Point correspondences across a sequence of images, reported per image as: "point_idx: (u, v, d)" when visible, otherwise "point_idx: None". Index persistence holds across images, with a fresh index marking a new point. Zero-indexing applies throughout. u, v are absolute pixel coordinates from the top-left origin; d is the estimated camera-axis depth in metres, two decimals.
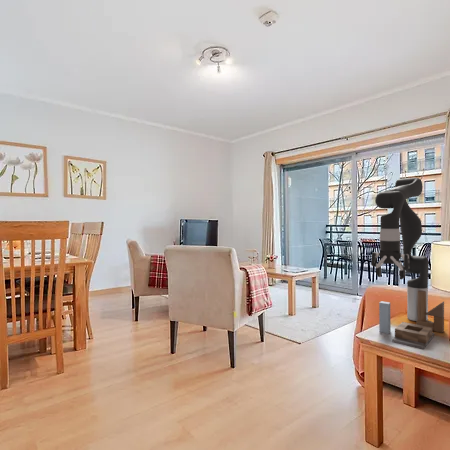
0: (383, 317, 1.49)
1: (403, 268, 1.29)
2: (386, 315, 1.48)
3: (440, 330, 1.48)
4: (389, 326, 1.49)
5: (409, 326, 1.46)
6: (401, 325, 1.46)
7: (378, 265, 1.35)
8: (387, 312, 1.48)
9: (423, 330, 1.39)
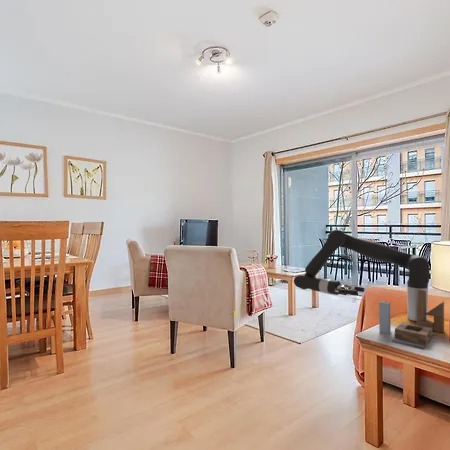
0: (383, 317, 1.49)
1: None
2: (386, 315, 1.48)
3: (440, 330, 1.48)
4: (389, 326, 1.49)
5: (409, 326, 1.46)
6: (401, 325, 1.46)
7: None
8: (387, 312, 1.48)
9: (423, 330, 1.39)
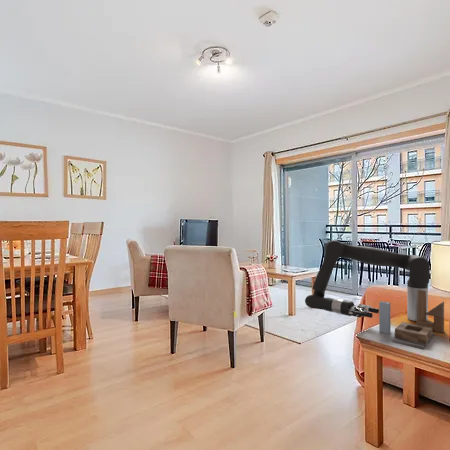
0: (383, 317, 1.49)
1: None
2: (386, 315, 1.48)
3: (440, 330, 1.48)
4: (389, 326, 1.49)
5: (409, 326, 1.46)
6: (401, 325, 1.46)
7: None
8: (387, 312, 1.48)
9: (423, 330, 1.39)
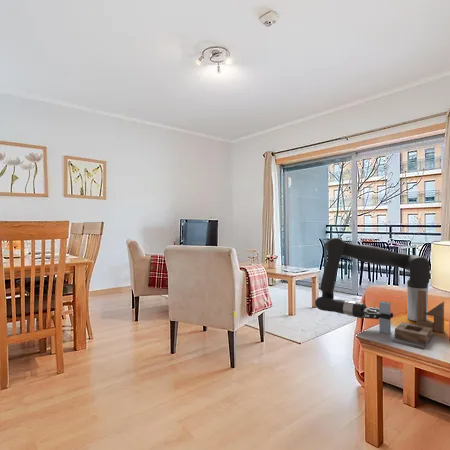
0: None
1: (379, 317, 1.49)
2: None
3: (440, 330, 1.48)
4: (389, 326, 1.49)
5: (409, 326, 1.46)
6: (401, 325, 1.46)
7: None
8: (387, 312, 1.48)
9: (423, 330, 1.39)
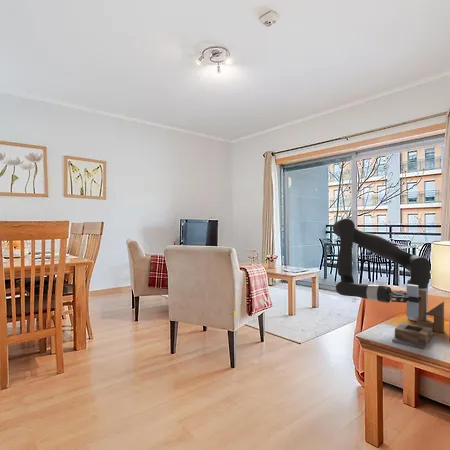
0: None
1: (407, 301, 1.41)
2: None
3: (440, 330, 1.48)
4: (417, 310, 1.41)
5: (409, 326, 1.46)
6: (401, 325, 1.46)
7: None
8: (415, 295, 1.40)
9: (423, 330, 1.39)
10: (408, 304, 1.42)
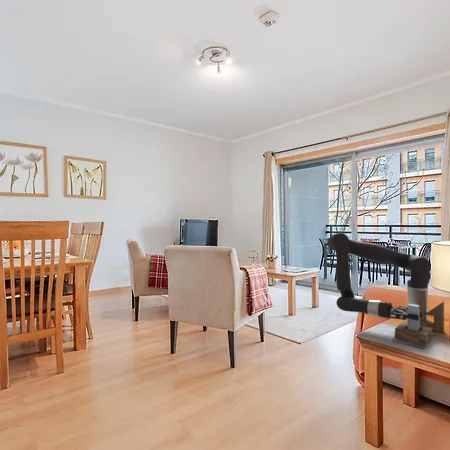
0: (412, 321, 1.41)
1: None
2: None
3: (440, 330, 1.48)
4: (418, 330, 1.41)
5: None
6: (401, 325, 1.46)
7: None
8: None
9: (423, 330, 1.39)
10: (409, 324, 1.42)
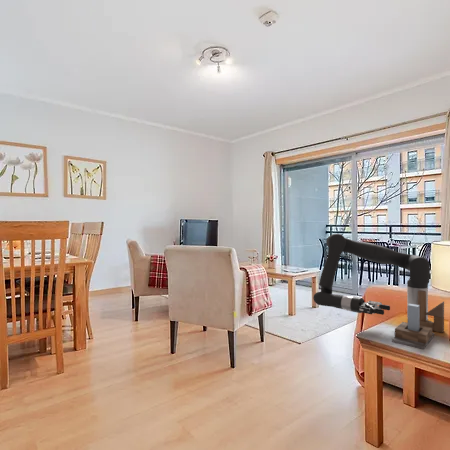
0: (412, 321, 1.41)
1: (372, 312, 1.49)
2: (415, 318, 1.40)
3: (440, 330, 1.48)
4: (418, 330, 1.41)
5: None
6: (401, 325, 1.46)
7: None
8: (416, 315, 1.40)
9: (423, 330, 1.39)
10: (409, 324, 1.42)
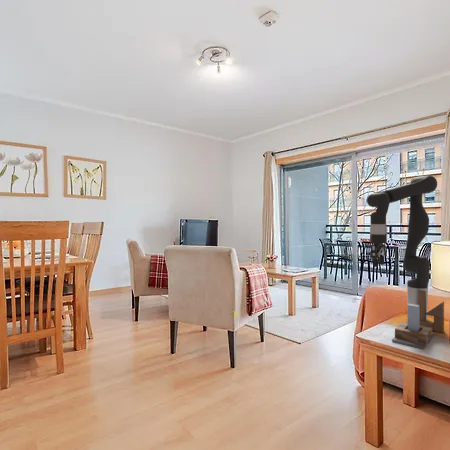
0: (412, 321, 1.41)
1: None
2: (415, 318, 1.40)
3: (440, 330, 1.48)
4: (418, 330, 1.41)
5: None
6: (401, 325, 1.46)
7: None
8: (416, 315, 1.40)
9: (423, 330, 1.39)
10: (409, 324, 1.42)
